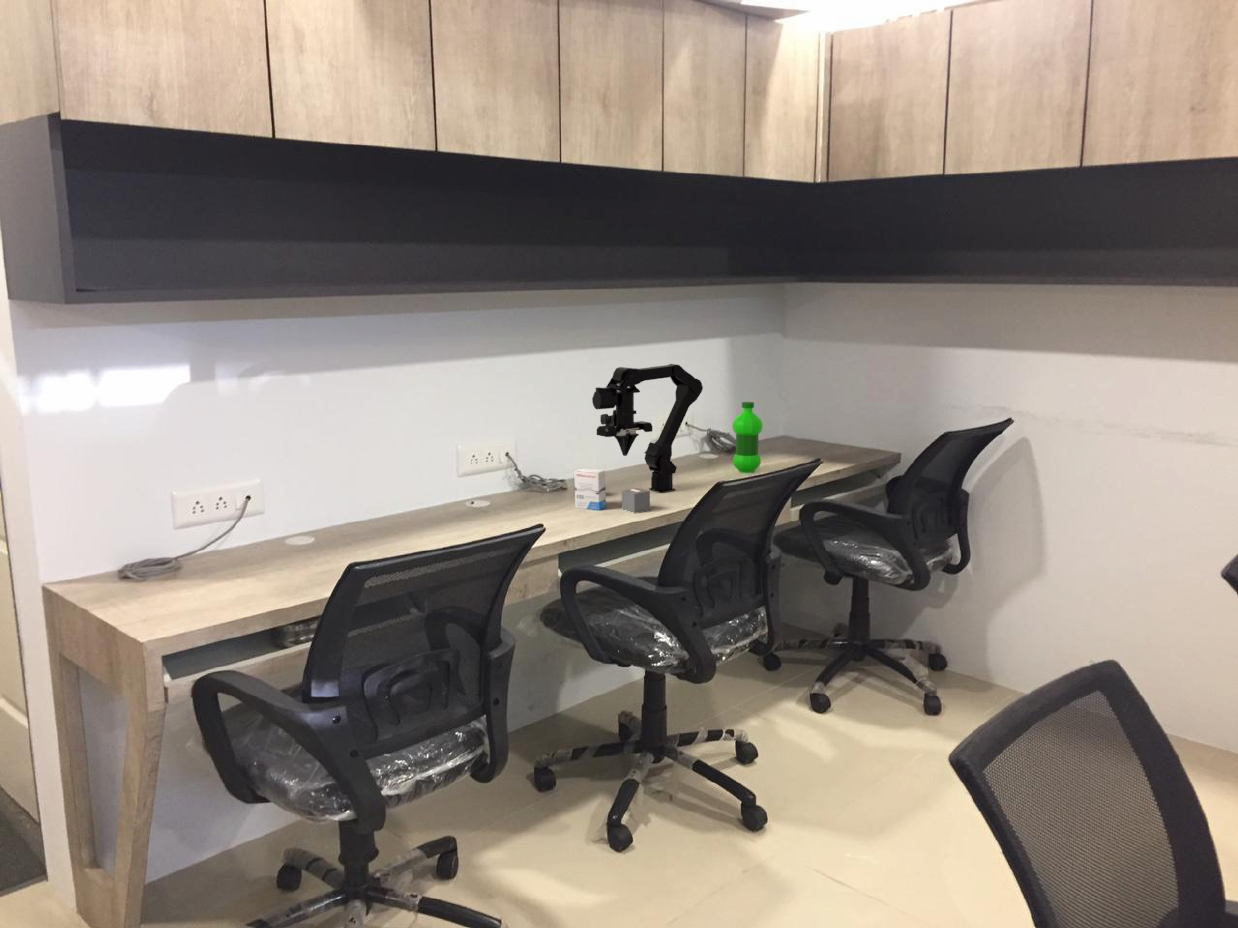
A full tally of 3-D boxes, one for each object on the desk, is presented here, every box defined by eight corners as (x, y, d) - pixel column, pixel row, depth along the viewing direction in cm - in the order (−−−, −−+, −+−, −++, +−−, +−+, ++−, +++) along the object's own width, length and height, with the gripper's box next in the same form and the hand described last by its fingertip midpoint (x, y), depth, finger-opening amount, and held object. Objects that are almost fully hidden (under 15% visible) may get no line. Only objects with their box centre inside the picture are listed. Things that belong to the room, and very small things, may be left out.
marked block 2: (637, 507, 303) (637, 487, 302) (649, 510, 298) (649, 490, 297) (621, 509, 299) (621, 490, 298) (634, 513, 295) (634, 493, 294)
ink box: (606, 507, 302) (606, 469, 300) (598, 511, 298) (598, 472, 296) (582, 504, 306) (581, 467, 304) (574, 508, 302) (573, 470, 300)
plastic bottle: (761, 474, 351) (763, 404, 346) (731, 473, 352) (732, 404, 347) (761, 468, 360) (762, 400, 356) (731, 468, 362) (733, 400, 357)
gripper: (631, 402, 325) (632, 449, 328) (586, 407, 314) (586, 455, 317) (653, 405, 317) (653, 453, 320) (607, 410, 305) (607, 460, 308)
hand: (624, 455), depth 316 cm, fingers closed
